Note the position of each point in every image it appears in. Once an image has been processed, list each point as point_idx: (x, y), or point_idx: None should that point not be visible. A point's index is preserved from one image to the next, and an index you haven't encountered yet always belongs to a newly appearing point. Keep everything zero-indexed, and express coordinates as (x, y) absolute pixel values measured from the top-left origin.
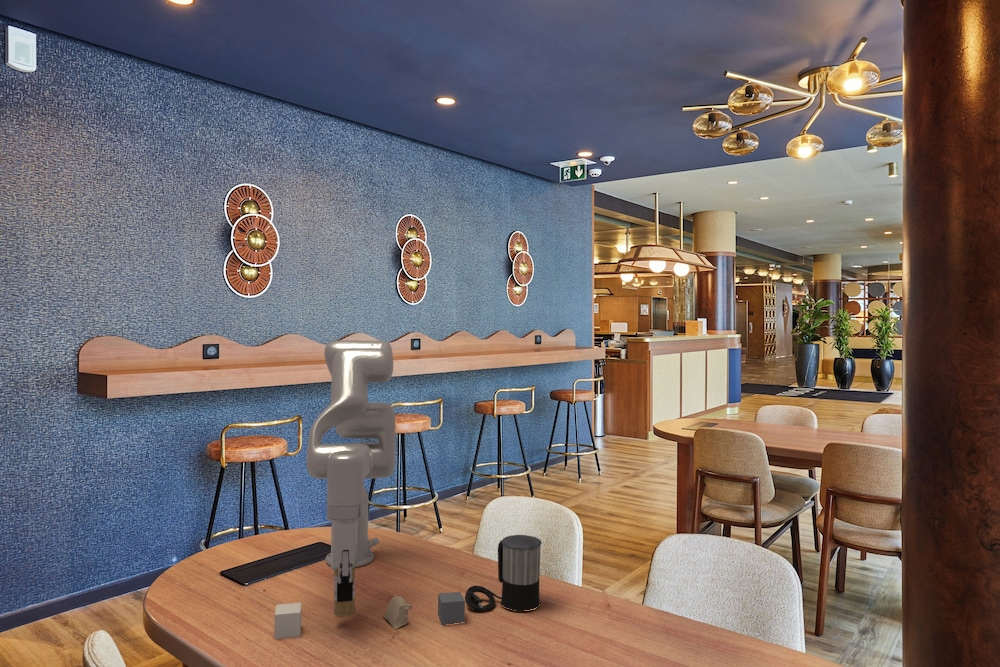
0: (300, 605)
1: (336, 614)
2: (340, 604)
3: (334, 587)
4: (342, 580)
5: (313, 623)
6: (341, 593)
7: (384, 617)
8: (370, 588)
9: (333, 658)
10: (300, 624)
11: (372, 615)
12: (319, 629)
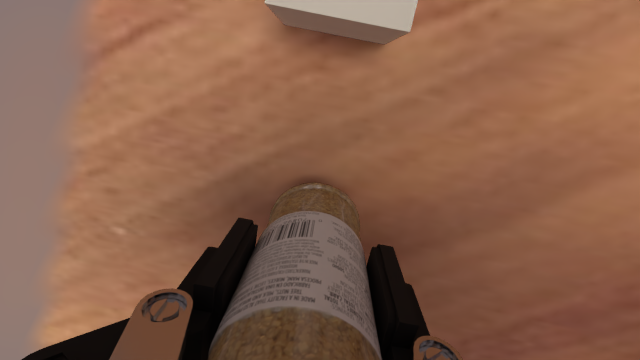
0: (368, 19)
1: (290, 189)
2: (269, 224)
3: (298, 245)
4: (77, 345)
5: (382, 98)
6: (197, 263)
7: None
8: (572, 335)
9: (73, 118)
10: (310, 24)
11: None
12: (318, 111)
